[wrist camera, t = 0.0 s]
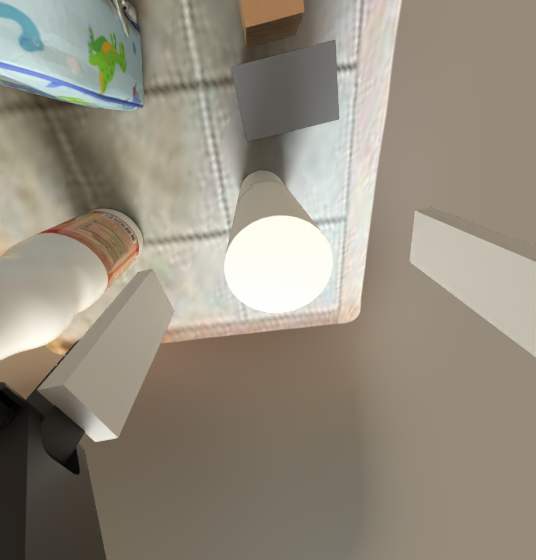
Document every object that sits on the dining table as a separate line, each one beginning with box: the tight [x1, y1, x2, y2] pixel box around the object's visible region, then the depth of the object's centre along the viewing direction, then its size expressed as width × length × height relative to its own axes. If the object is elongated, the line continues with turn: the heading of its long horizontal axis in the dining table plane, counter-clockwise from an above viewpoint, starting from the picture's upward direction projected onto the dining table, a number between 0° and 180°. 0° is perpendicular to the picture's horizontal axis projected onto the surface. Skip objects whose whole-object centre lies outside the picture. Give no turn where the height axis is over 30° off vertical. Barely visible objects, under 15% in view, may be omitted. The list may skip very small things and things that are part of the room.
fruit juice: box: [0, 209, 143, 360], centre depth 27 cm, size 9×9×28 cm
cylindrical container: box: [224, 170, 333, 313], centre depth 26 cm, size 7×7×25 cm
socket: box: [231, 40, 339, 142], centre depth 26 cm, size 6×9×13 cm, turn 102°
